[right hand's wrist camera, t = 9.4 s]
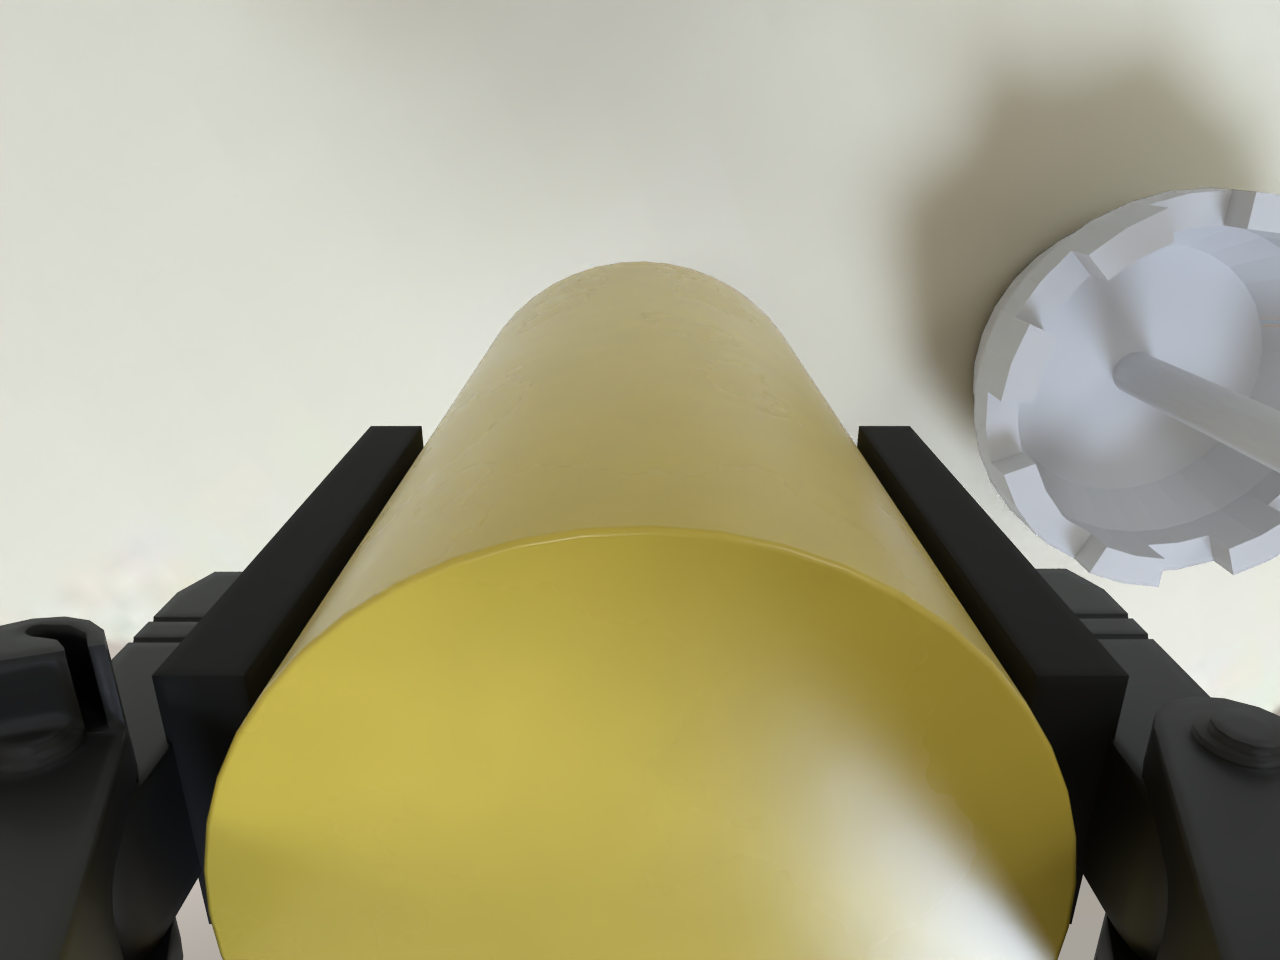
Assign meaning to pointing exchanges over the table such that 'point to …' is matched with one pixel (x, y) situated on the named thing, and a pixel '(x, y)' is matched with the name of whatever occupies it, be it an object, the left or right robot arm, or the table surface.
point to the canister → (640, 684)
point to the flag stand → (1143, 387)
